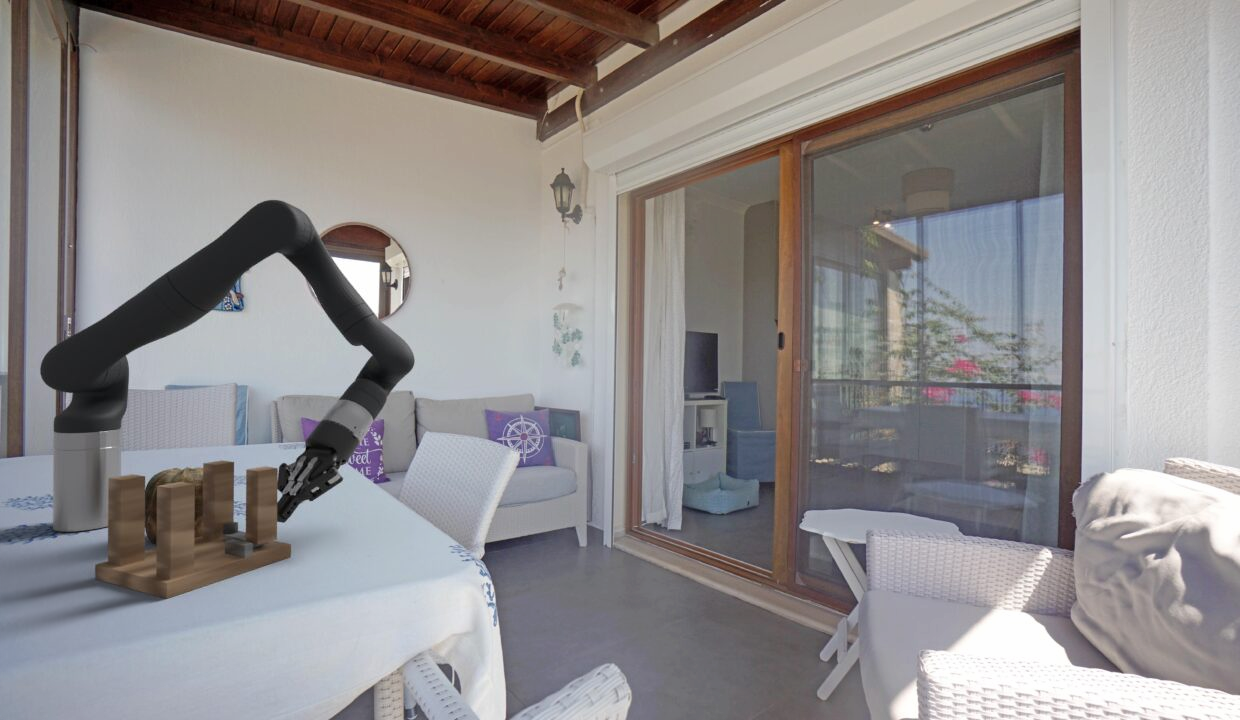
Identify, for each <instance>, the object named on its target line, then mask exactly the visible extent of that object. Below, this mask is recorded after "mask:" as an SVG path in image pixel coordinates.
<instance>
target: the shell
mask: <svg viewBox="0 0 1240 720" xmlns="http://www.w3.org/2000/svg"><path fill="white" fill-rule="evenodd" d="M177 482H185V483H192V484H195V523H194V538H198V537H202V536H203V467H199V466H197V467H194V468H191V467H185V468H183V469H181V468H179V467H175V468H169V469H164V470H162V471H159V472H158V473H156V474H154V475H153V476H152V477H151V478H150V479H149V480H148V482H147V484H146V485H145V535H146V537H147V539H148V540H149V541H150V543H152V544H157V486H160V485H166V484H171V483H177Z"/></svg>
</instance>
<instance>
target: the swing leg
mask: <svg viewBox="0 0 1240 720" xmlns="http://www.w3.org/2000/svg"><path fill="white" fill-rule="evenodd" d="M245 473H246V474H245V475H246V476H245V477H246V479H245V485H246V486H245V531H242V530H239V522H238V521H234V522H229V523H225V524H223V540H226V541H229V540H232V539H234V540H239V541H244V542H249V543H253V548H255V547H258V546H262V545H265V544H269V541H277V540H278V522H277V503H278V489H277V483H278V473H279V467H273V466H272V467H271V466H267V465H266V466H265V465H264V466H260V467H259V466H258V467H252V468H246V469H245Z"/></svg>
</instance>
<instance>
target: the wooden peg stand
mask: <svg viewBox="0 0 1240 720" xmlns="http://www.w3.org/2000/svg"><path fill="white" fill-rule="evenodd" d="M202 466H203V467H202V468H203V536H202V537H198V538H194V523H195V484H192V483H185V482H177V483H171V484H166V485H160V486H157V543H156V547H155V548H152V549H148V550H145V547H146V544H145V543H146V531H145V489H146V476H145V475H139V474H134V473H133V474H132V473H131V474H127V475H126V474H125V475H121V476H118V477H112V478H108V526H107V561H103V562H99V563H96V564H94V565H95V567H94V572H95V573H94V579H95V580H98V579H99V580H98V581H102V582H105V583H110V584H113V585H117V586H120V587H124V588H127V589H131V590H134V591H138V592H141V593H145V594H148V595H152V596H155V597H160V598H163V599H166V600H167V599H170V598H173V597H176V596H179V595H182V594H186V593H187V592H191V591H194V590H196V589H199V588H202V587H206V586H208V585H212V584H214V583H218V582H220V581H223V580H226V579H229V578H232V577H236V576H238V575H241V573H242V574H244V573H247V571H248V572H251V571H254V570H257V569H260V568H262V567H265V566H268V565H271V564H274V563H277V562H280V561H283V560H286V559H288V558H291V557H292V544H291V543H286V542H282V541H277V540H273V541H269V544H265V545H262V546H258V547H255V548H253V543H249V542H244V541H239V540H234V539H232V540H229V541H226V540H223V524H225V523H229V522H235V521H234V519H235V517H234V516H235V515H234V514H235V511H234V509H235V507H234V505H235V504H234V503H235V495H234V494H235V462H234V461H229V460H221V459H220V460H215V461H211V462H210V461H209V462H204V463H203V465H202ZM253 569H254V570H253Z"/></svg>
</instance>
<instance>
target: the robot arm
mask: <svg viewBox="0 0 1240 720" xmlns="http://www.w3.org/2000/svg"><path fill="white" fill-rule="evenodd" d="M275 254H279V255H280V254H281V255H282V256H283V257H285V259H287V261H289V262H290V263H291V264H292V265H293V266H294V267H295V268H297V270H298V271H299V272H300V273H301V275H302V276H303V277H304V278H305V280H306V281H307V282H308V284H309V285H310V287H311V288H312V290H313V292H314V295H315V296H316V299H317V300H318V302H319V304H320V306H321V308H322V310H323V311H324V313H325V314H326V316H327V317H328V319H329V320H330V321H331V323H332V324H333V325H334V327H336V329H337V330H338V331H339V333H341V335H342V337H343V338H344V339H345V340H346V341H347V342H348V343H349V344H350V345H351V346H354V347H360V346H362V347H364V349H366V350H367V351H368V352H369V353H370V354H371V356H370V357H369V358H368V360H367V361H366V362H365V364H364V365H363V367H362V368H361V370H360V371H359V373H358V375H356V377H355V379H354V381H353V382H352V383H351V384H350V385H349V386H348V387H347V388H346V390H345V391H344V393H342V395H341V396H340V397H339V399H338V400H337V401H336V403H334V405H333V406H332V407H330V408H329V410H328V411H327V412H326V413H325V415H324V416H323V417H322V418H321V420H320V421H319V423H318V424H317V425H316V427H315V428H314V429H313V430H312V431H311V433H310V434H309V436H307V437H306V439H305V442H304V444H305V450H304V451H303V452H302V453H301V454H300V455H299V456H298V457H297V458H296V459H295V461H294V462H292V463H290V464H287V463H286V462H283V463H281V464H280V465H279V466H278V483H277V491H278V492H280V493H281V494H282V495H281V497H280V498H279V500H277V523H282V524H283V523H286V522H287V521H288V520H289V519H290V518H291V517H292V515H293V514H294V512H295V511H296V510H297V508H298V507H299V505H301V504H303V503H305V502H306V501H309V502H314V500H316V499H318V498H319V497H321V496H323V495H324V494H326V493H328V491H330V490H331V489H333V488H334V487H336V486H337V485H339V484H340V483H342V482H343V481H344V477H343V476H342V474H341V473H339V469H340V468H341V467H342V466H344V465H346V464H347V463H348V461H349V460H350V458H351V457H352V456H353V454H354V453H355V452H356V450H357V448H358V447H359V445H360V444H361V443H362V441H363V440H364V438H365V437H366V436H367V434H368V432H369V431H370V428H371V426H372V424H373V423H374V421H375V420H376V418H377V417H378V416H379V414H380V413H381V411H382V410H383V408H384V407H385V405H386V402H387V399H388V398H387V397H388V396H390V394H391V392H392V391H393V389H394V388H395V387H396V386H397V385H398V383H400V381H402V380H403V379H404V378H405V377H406V376H407V375H408V374H409V373H411V371H412V369H413V368H414V366H415V364H416V363H415V355H414V352H413V351H412V349H411V347H410V345H409V344H408V343H407V342H406V341H405V339H404V338H402V337H401V336H400V335H398V334H397V333H396V332H395V331H393V330H392V329H391V328H390V327H389V326H387V325H386V324H385V323H384V322H382V321H381V320H380V319H379V317H378V316H377V315H376V314H375V311H373V310H372V308H371V307H370V306H369V304H368V303H367V302H366V301H365V299H364V298H363V296H361V294H360V293H359V292H358V291H357V289H356V288H355V287H354V285H353V284H352V283H351V282H350V281H349V280H348V278H347V277H346V276H345V274H344V273H343V271H342V270H341V269H340V268H339V266H338V264H337V263H336V262H335V260H334V259H333V257H332V256H331V254H330V253H329V251H328V249H327V247H326V246H325V244H324V241H322V238H321V237H320V234H319V233H318V231H317V230H316V227H315V225H314V224H313V222H312V219H310V217H309V216H308V214H307V213H306V212H305V211H303V210H301V209H300V208H298V207H297V206H294V205H292V204H290V203H288V202H286V201H283V200H279V199H269V200H264V201H261V202H258V203H257V204H256V205H254V206H252V208H250V209H249V210H248V211H247V212H246V213H244V214H243V215H242V216H240V218H239V219H238V220H237V221H235V222H234V223H233V224H232V225H231V226H229V228H227V230H225V231H224V232H223V233H222V234H221V235H219V236H218V237H217V238H216V239H215V240H213V241H212V242H210V243H209V244H207V245H206V246H204V247H203V248H201V249H200V250H198V251H196V252H195V253H194V254H192V255H191V256H189V257H188V258H187V259H185V260H183V261H182V262H180V263H179V264H178V265H176V266H174V267H173V268H171V269H170V270H169V271H167V272H166V273H164V274H163V275H161V276H159V278H157V279H155V280H154V281H152V282H151V283H150V284H149V285H148V286H146V287H145V288H144V289H142V290H141V291H139V292H138V293H136V294H135V295H134V296H132V297H131V298H129V299H128V300H126V301H125V302H124V303H123V304H121V305H119V306H118V307H117V308H116V309H114V310H113V311H112V312H110V313H109V314H107V315H106V316H104V317H103V318H101V319H100V320H97V321H96V322H95V323H93V324H91V325H90V326H88V327H87V326H86V328H84V329H82V330H80V331H78V332H77V333H75V334H73V335H72V336H69V337H67V338H65V339H63V340H62V341H60V342H58V343H57V344H55V345H54V346H53V347H52V348H50V349H49V351H47V352H46V354H45V355H44V357H43V359H42V361H41V363H40V367H39V369H40V371H39V372H40V377H41V380H42V381H43V382H44V384H45V385H47V387H49V388H50V389H52V390H55V391H56V392H57V391H58V392H61V393H66V394H67V393H69V394H72V396H71V401H70V403H69V404H68V406H67V407H66V408H64V409H63V410H62V411H61V412H59V413H57V415H55V417H54V418H53V445H52V446H53V470H52V471H53V478H52V479H53V481H52V487H53V488H52V503H53V504H52V530H54V531H56V532H66V533H67V532H82V531H90V530H91V531H92V530H97V529H101V528H105V527H108V478H112V477H118V476H122V420H123V417H124V416H125V413H126V412H127V408H128V401H129V398H128V397H129V386H130V385H129V383H130V366H129V361H128V358H127V355H130V354H131V353H132V352H134V351H135V350H137V349H140V348H142V347H143V346H146V345H149V344H151V343H153V342H156V341H158V340H161V339H164V338H166V337H169V336H171V335H173V334H175V333H178V332H180V331H182V330H184V329H187V328H188V327H189V326H191V325H193V324H194V323H196V322H197V321H198V320H200V319H201V318H203V317H204V316H206V315H208V314H209V313H210V312H212V311H213V310H215V308H217V306H219V305H220V304H221V303H222V302H223V301H224V300H225V299H226V297H227V296H228V295H229V294H230V292H231V291H232V289H233V287H234V286H235V285H236V283H237V282H238V281H239V279H240V278H241V277H242V276H243V275H245V273H246V272H247V271H249V270H250V269H251V268H253V267H255V266H257V264H259V263H261V262H263V261H264V260H266V259H267V258H269V257H270V256H273V255H275Z"/></svg>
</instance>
